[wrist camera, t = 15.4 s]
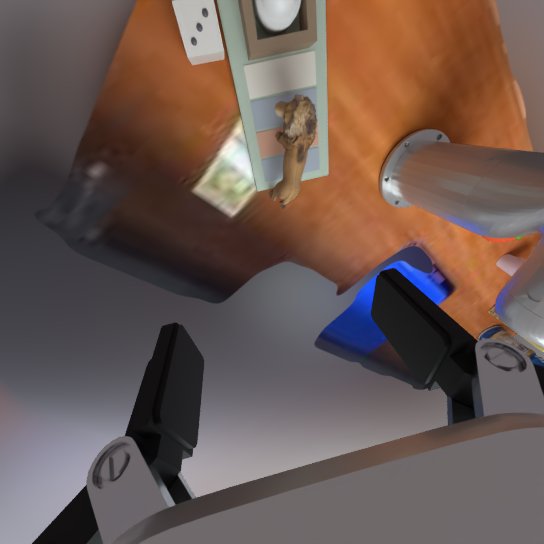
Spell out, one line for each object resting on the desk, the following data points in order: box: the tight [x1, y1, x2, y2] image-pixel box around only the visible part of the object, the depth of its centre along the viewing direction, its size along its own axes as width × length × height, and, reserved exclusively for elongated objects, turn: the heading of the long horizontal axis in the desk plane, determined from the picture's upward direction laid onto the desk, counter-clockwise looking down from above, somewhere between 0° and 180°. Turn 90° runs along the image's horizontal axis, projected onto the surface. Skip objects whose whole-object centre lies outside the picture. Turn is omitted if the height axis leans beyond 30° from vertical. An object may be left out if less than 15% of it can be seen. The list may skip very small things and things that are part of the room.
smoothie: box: [496, 254, 525, 276], centre depth 51 cm, size 6×6×14 cm
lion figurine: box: [269, 94, 317, 209], centre depth 29 cm, size 15×5×9 cm, turn 1°
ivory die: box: [172, 0, 224, 65], centre depth 24 cm, size 4×4×4 cm
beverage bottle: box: [478, 326, 544, 367], centre depth 71 cm, size 8×8×20 cm
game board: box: [216, 0, 329, 191], centre depth 27 cm, size 12×24×4 cm, turn 10°
